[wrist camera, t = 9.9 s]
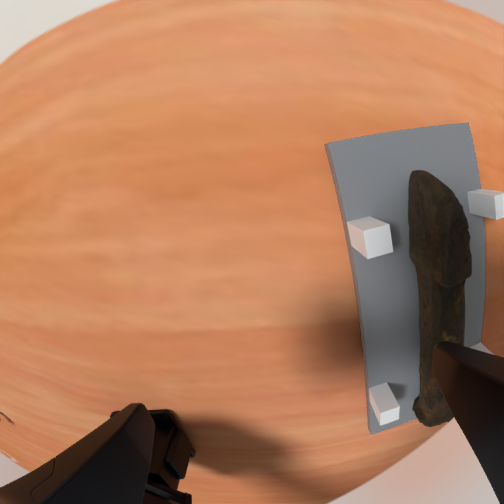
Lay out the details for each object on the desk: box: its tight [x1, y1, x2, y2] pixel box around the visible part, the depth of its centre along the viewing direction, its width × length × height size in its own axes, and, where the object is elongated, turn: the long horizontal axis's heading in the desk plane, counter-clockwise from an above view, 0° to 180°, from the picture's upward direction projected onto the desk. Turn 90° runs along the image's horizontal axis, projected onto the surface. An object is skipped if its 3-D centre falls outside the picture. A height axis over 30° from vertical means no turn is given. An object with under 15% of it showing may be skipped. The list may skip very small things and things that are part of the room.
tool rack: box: [325, 123, 504, 435], centre depth 17 cm, size 11×24×4 cm, turn 15°
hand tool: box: [408, 170, 472, 427], centre depth 16 cm, size 19×4×5 cm, turn 15°
